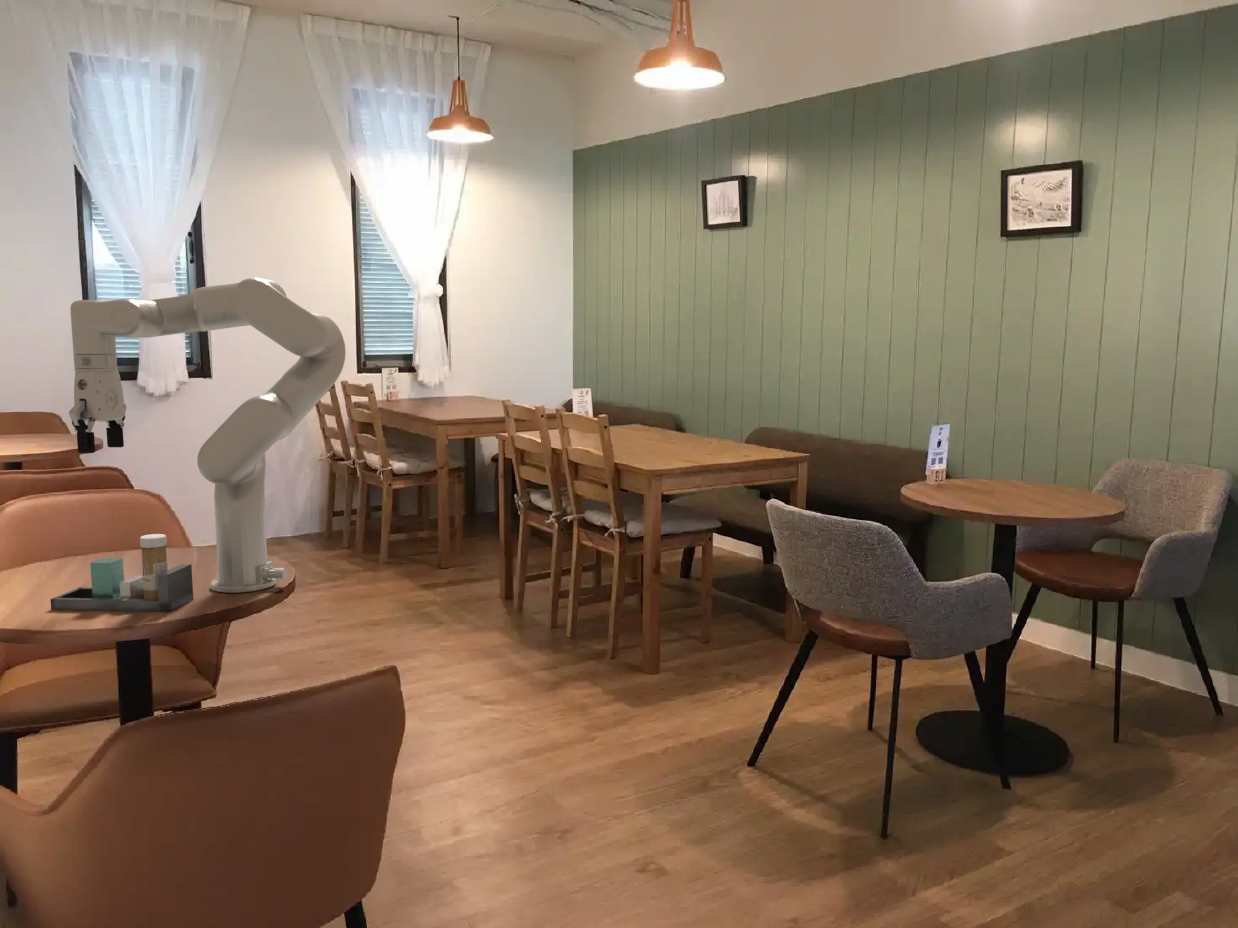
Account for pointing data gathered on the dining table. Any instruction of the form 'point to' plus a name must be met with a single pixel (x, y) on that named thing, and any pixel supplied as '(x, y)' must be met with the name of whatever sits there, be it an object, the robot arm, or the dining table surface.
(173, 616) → the dining table surface
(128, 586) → the press carriage
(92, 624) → the dining table surface
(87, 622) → the dining table surface
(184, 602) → the frame
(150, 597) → the sprinkles bottle
